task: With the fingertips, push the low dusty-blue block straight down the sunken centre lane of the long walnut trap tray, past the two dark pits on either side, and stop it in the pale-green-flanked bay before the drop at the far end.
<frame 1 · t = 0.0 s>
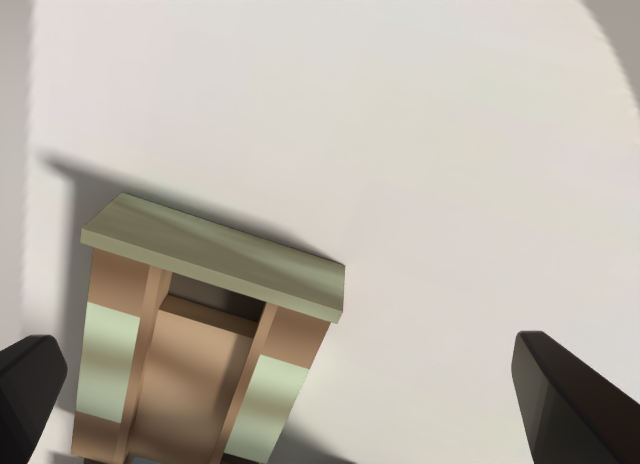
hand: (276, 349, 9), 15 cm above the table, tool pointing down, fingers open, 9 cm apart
trap tray: (184, 409, 32), on the table
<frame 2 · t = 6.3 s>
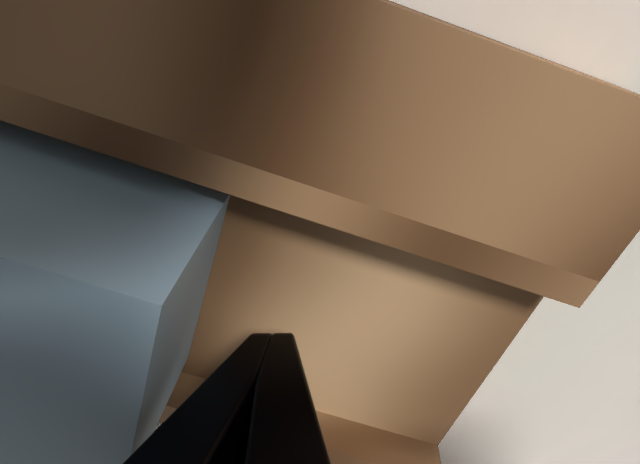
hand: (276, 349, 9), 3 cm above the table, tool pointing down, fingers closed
block: (66, 239, 10), point 2 cm above the table, touching gripper, trap tray
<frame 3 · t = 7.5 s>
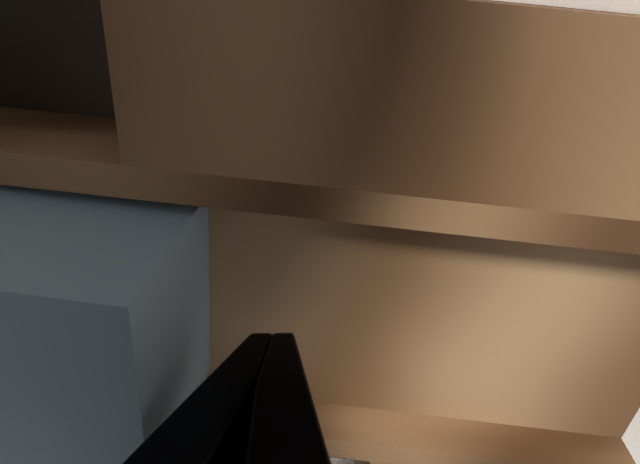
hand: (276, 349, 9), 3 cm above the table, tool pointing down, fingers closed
block: (71, 271, 10), point 2 cm above the table, touching trap tray
trap tray: (26, 237, 12), on the table
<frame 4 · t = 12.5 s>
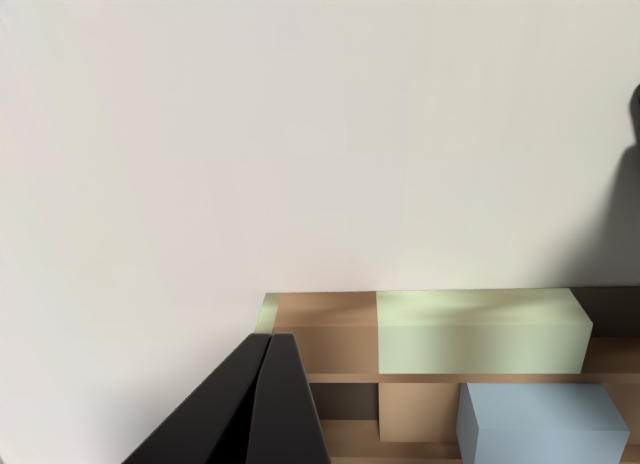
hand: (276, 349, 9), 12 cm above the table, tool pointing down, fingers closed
block: (520, 401, 23), point 2 cm above the table, touching trap tray
trap tray: (557, 383, 25), on the table
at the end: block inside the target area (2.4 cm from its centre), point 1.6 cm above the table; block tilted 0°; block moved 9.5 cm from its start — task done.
